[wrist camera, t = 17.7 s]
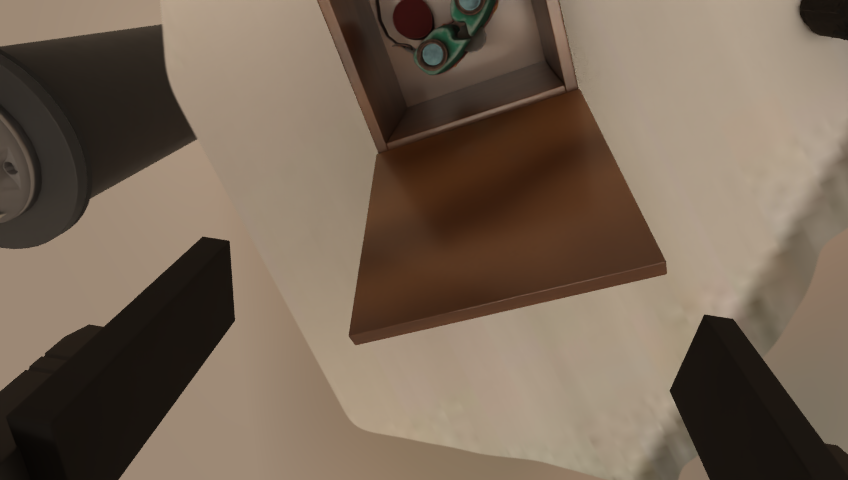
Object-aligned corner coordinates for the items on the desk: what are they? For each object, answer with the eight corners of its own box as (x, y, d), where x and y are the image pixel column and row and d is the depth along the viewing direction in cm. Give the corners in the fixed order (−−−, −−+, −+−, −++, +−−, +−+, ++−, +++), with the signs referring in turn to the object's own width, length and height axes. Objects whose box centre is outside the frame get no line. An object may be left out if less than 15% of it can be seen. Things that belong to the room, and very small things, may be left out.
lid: (348, 336, 25) (355, 345, 25) (666, 261, 21) (667, 274, 22) (376, 154, 37) (380, 163, 38) (579, 88, 34) (581, 98, 34)
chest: (338, -61, 43) (286, -76, 31) (508, -137, 39) (518, -184, 28) (403, 115, 49) (379, 156, 38) (555, 64, 46) (579, 92, 34)
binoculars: (393, -111, 32) (519, -10, 33) (424, -81, 42) (521, -4, 42) (325, 17, 36) (439, 104, 37) (367, 17, 45) (457, 86, 46)
